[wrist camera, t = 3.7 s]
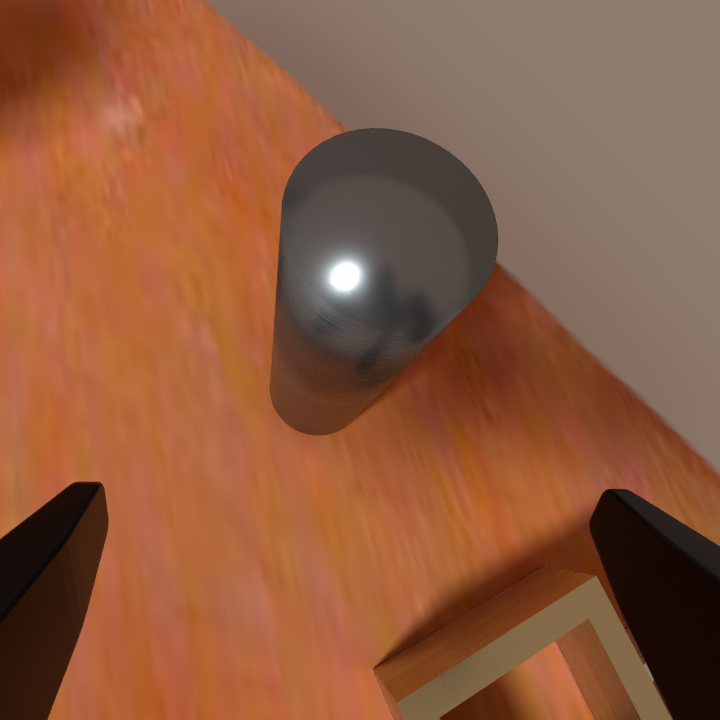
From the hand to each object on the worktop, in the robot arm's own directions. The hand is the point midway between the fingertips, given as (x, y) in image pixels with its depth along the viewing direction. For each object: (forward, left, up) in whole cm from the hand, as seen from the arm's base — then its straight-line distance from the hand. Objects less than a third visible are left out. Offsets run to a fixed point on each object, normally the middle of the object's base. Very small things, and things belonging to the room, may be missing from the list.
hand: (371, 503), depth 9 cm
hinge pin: (+2, +4, -12) cm, 13 cm away
